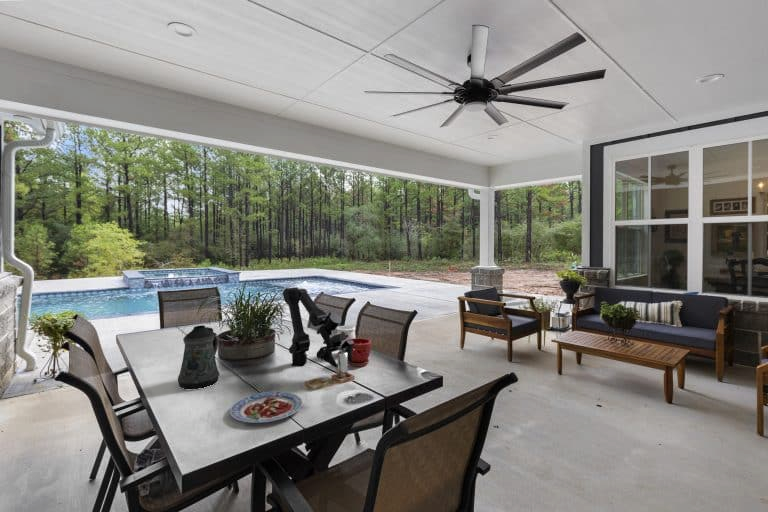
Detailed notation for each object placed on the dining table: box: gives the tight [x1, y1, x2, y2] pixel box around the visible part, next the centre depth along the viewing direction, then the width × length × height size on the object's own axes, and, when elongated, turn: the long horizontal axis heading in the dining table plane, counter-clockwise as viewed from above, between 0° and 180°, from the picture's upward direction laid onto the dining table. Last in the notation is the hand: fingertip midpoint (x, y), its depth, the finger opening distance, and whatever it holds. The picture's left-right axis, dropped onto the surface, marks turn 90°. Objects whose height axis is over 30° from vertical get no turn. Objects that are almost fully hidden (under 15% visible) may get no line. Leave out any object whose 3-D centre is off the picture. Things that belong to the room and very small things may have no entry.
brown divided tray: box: [302, 372, 357, 392], centre depth 166 cm, size 22×8×2 cm, turn 126°
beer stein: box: [177, 324, 220, 390], centre depth 168 cm, size 16×19×25 cm
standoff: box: [337, 351, 349, 379], centre depth 170 cm, size 4×4×12 cm
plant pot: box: [346, 337, 372, 367], centre depth 193 cm, size 13×13×12 cm
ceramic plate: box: [229, 390, 304, 424], centre depth 140 cm, size 26×26×3 cm
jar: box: [336, 325, 356, 352], centre depth 208 cm, size 11×10×15 cm
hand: (344, 364), depth 169 cm, fingers open, 9 cm apart
